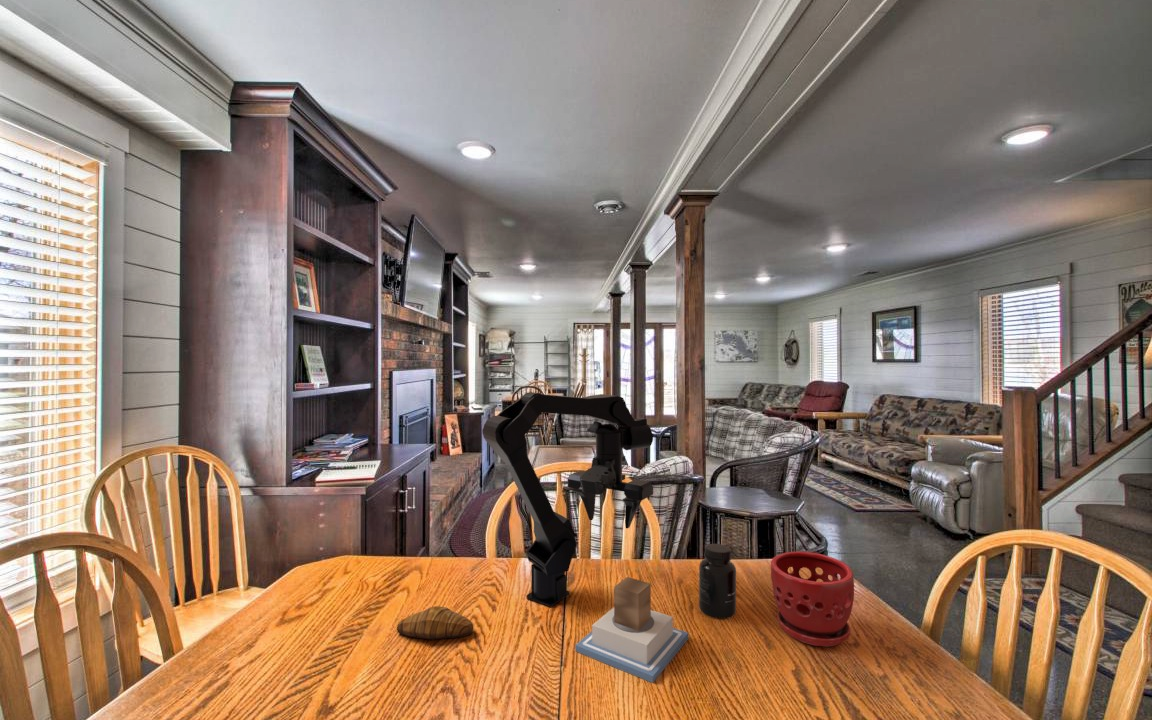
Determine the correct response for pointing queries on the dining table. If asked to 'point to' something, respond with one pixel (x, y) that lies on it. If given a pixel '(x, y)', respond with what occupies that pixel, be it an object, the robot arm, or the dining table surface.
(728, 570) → the supplement bottle
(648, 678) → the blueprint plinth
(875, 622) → the dining table surface
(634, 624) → the walnut block
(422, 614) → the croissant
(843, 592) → the plant pot
